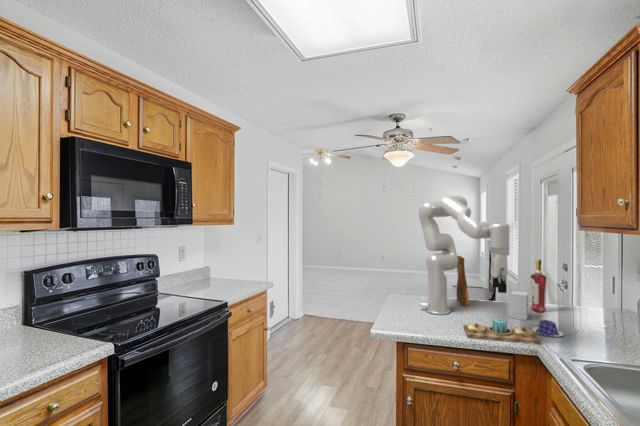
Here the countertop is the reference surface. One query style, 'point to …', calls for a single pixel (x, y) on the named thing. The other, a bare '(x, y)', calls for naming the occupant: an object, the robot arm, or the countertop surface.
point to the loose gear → (499, 325)
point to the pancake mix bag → (461, 283)
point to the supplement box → (519, 305)
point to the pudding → (547, 328)
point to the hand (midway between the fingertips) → (499, 289)
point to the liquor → (538, 289)
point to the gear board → (501, 334)
